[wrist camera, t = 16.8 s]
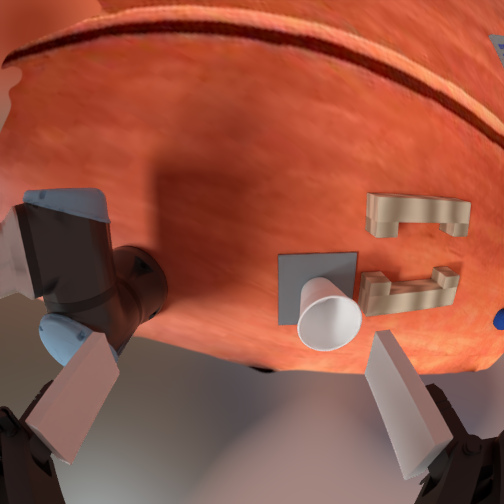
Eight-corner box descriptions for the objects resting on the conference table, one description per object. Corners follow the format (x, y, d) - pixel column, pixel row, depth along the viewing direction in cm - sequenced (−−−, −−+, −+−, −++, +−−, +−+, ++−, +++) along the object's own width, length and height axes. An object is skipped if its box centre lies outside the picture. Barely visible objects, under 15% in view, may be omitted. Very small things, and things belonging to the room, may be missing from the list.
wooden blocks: (357, 303, 50) (365, 316, 45) (366, 192, 43) (378, 196, 38) (440, 293, 49) (452, 304, 44) (455, 198, 42) (470, 202, 37)
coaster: (278, 323, 51) (278, 325, 51) (278, 254, 47) (278, 255, 46) (348, 319, 51) (349, 320, 50) (356, 251, 46) (357, 252, 46)
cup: (350, 299, 49) (370, 332, 38) (304, 323, 50) (313, 360, 40) (330, 256, 46) (349, 283, 36) (280, 282, 48) (285, 316, 37)
